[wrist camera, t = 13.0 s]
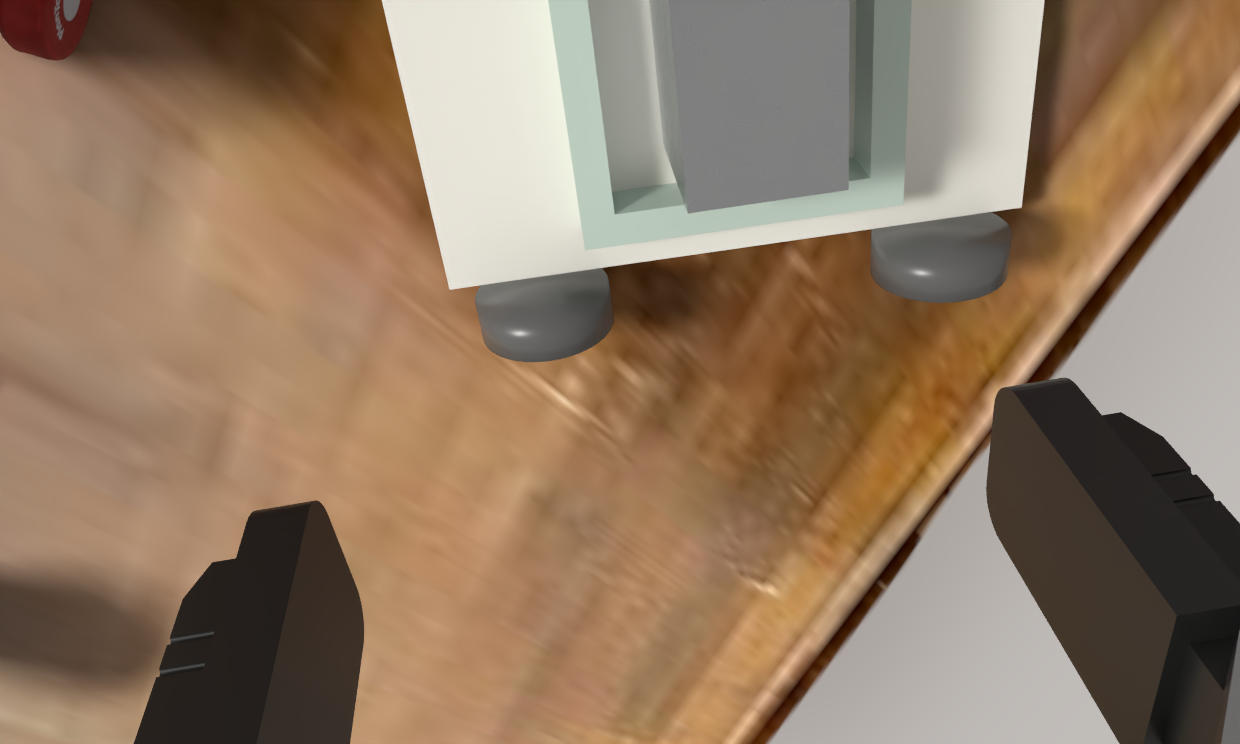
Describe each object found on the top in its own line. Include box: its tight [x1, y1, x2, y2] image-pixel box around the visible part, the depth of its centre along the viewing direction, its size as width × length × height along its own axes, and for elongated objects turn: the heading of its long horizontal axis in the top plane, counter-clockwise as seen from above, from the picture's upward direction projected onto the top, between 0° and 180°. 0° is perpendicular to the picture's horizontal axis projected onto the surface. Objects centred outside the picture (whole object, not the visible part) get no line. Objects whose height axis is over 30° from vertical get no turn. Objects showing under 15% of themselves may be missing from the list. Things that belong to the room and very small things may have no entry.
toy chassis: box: [382, 0, 1045, 362], centre depth 34 cm, size 19×22×5 cm
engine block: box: [649, 0, 850, 214], centre depth 32 cm, size 7×5×6 cm
